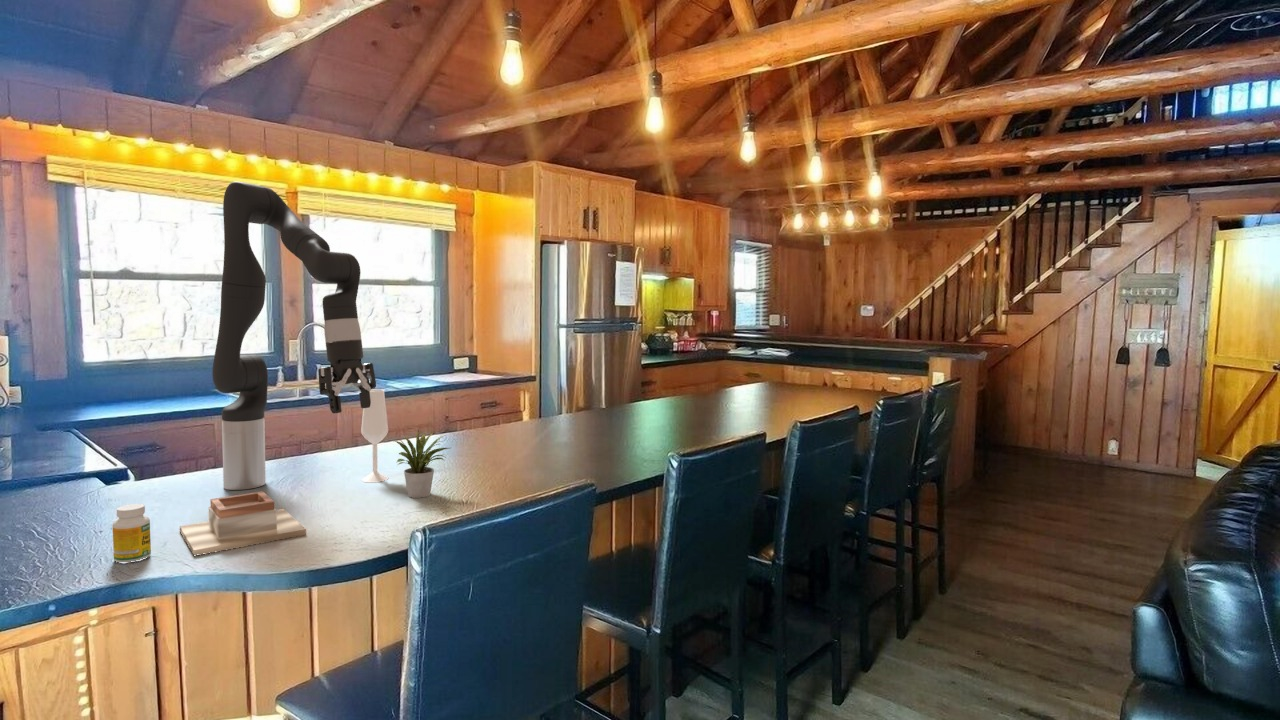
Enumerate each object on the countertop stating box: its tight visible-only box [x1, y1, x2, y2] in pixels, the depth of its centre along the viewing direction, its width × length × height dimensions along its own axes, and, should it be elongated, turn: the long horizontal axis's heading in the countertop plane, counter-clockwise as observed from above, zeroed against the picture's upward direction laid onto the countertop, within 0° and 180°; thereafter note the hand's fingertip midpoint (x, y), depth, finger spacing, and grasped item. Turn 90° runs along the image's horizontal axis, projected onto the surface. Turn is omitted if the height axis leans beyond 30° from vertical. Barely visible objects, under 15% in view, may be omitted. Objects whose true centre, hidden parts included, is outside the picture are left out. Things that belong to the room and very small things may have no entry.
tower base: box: [179, 490, 307, 555], centre depth 133 cm, size 17×19×7 cm
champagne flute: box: [360, 388, 389, 483], centre depth 176 cm, size 7×7×24 cm
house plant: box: [394, 429, 451, 499], centre depth 161 cm, size 14×14×16 cm
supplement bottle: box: [112, 503, 152, 563], centre depth 119 cm, size 5×5×10 cm
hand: (351, 410), depth 150 cm, fingers open, 8 cm apart
